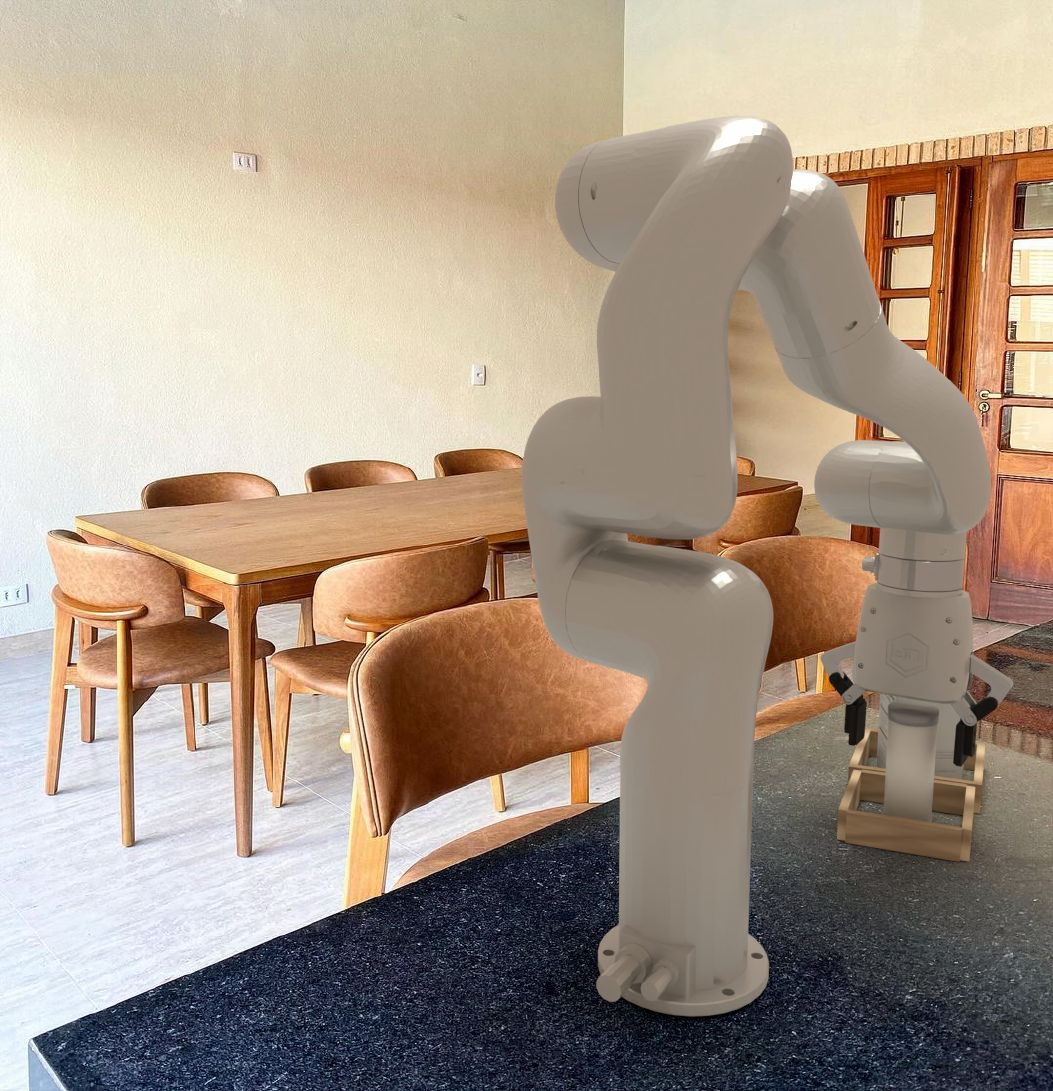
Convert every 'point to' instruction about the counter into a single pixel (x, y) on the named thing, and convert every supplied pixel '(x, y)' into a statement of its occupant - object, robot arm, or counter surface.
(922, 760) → the frosted tube
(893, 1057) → the counter surface
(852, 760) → the oak rack
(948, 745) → the supplement box
